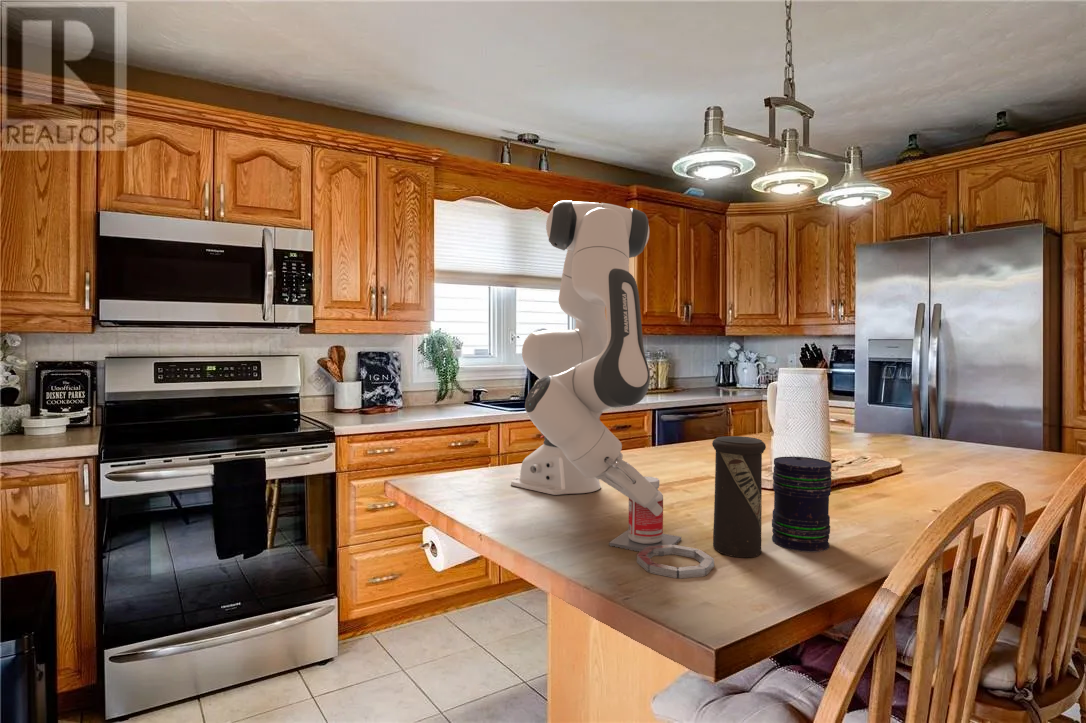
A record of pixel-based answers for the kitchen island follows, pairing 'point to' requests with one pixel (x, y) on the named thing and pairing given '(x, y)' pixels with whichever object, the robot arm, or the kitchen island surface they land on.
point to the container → (738, 495)
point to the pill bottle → (646, 520)
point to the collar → (671, 571)
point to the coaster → (626, 543)
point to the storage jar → (801, 503)
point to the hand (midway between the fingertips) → (647, 505)
